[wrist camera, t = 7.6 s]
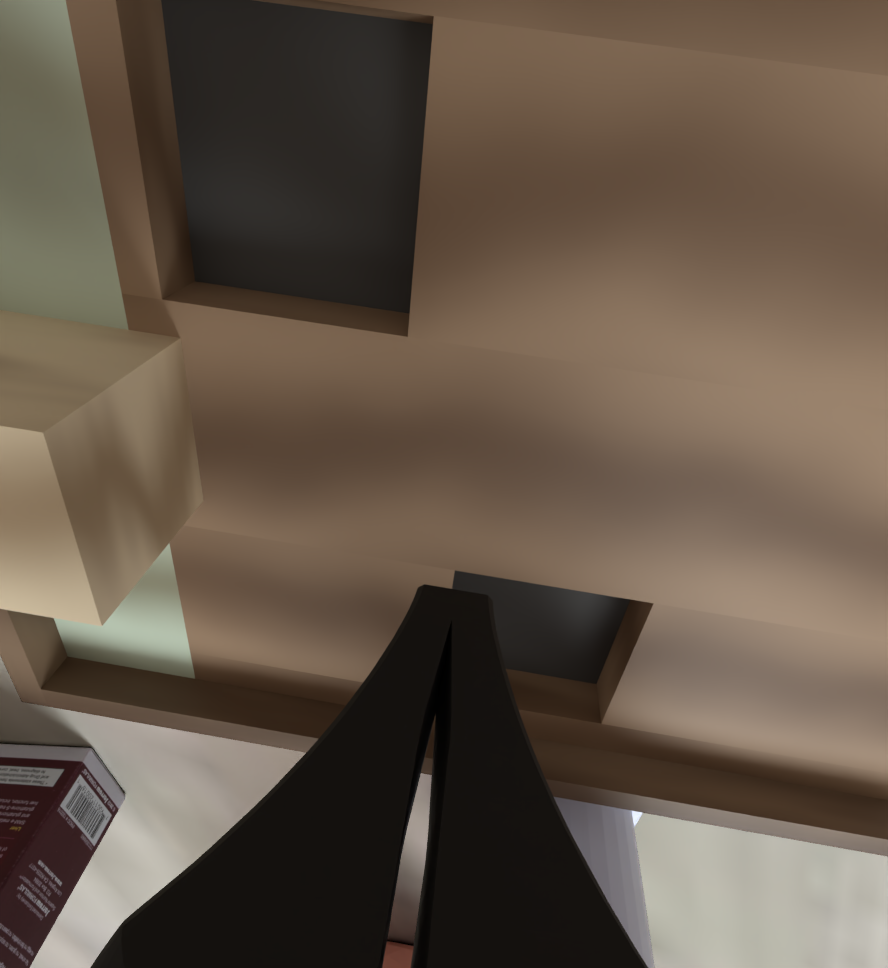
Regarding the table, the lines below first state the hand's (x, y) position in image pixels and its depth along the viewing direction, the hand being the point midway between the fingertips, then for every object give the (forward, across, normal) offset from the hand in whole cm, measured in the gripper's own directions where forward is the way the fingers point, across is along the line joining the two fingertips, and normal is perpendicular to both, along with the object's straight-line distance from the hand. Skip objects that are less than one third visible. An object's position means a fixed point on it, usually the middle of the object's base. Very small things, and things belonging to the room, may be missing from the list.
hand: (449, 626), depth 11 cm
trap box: (+7, -1, 0) cm, 7 cm away
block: (+5, +10, 0) cm, 12 cm away
